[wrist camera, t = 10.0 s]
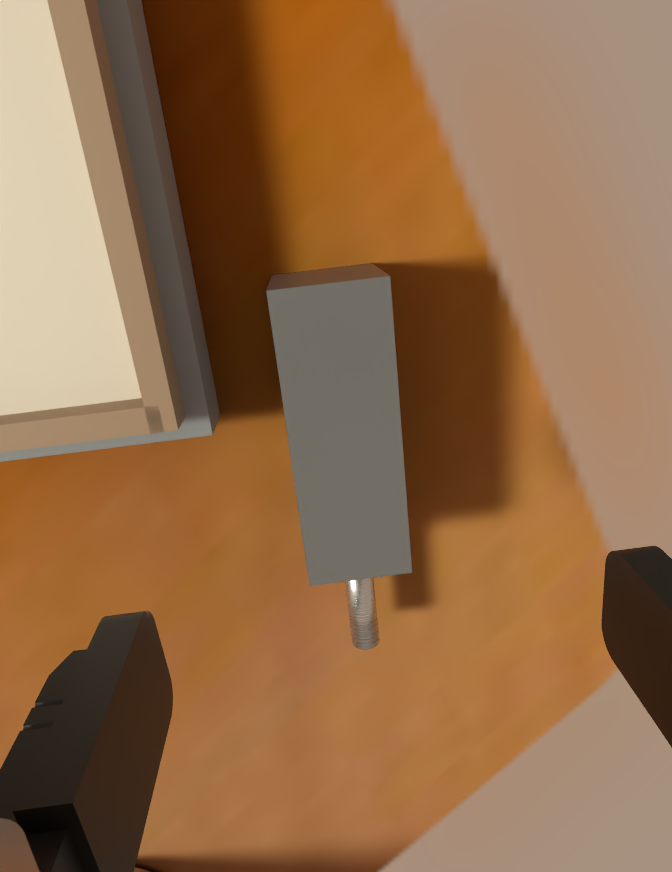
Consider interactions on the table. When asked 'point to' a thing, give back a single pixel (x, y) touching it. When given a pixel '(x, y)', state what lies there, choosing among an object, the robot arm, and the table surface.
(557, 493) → the table surface
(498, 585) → the table surface
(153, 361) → the switch board
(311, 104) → the table surface
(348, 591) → the grey block with bolt
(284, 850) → the table surface
